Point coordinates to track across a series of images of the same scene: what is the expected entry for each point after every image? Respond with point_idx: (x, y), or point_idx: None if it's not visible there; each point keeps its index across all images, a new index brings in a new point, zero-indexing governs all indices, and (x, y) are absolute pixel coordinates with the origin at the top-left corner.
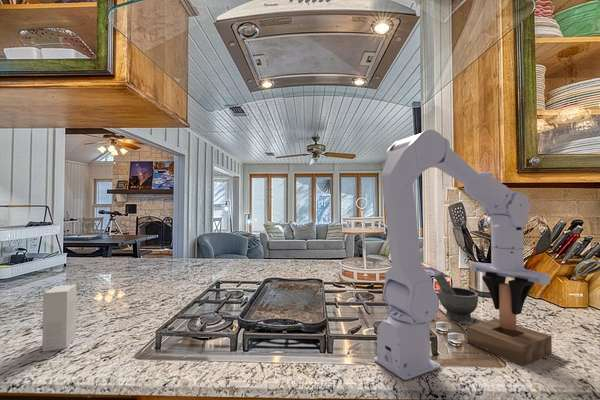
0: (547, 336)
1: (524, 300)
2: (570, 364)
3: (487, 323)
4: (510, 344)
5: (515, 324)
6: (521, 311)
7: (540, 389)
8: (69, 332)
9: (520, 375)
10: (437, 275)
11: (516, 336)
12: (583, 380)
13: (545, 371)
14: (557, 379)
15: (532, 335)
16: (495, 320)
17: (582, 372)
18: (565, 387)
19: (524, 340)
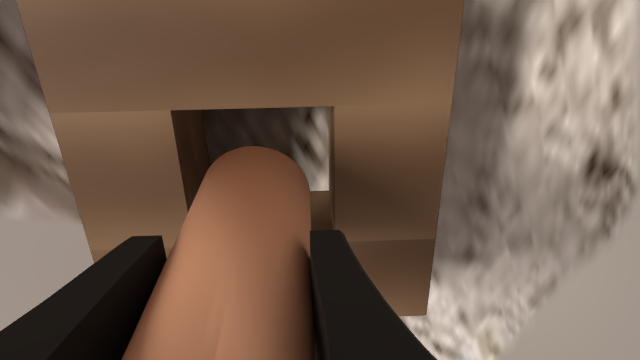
0: (452, 20)
1: (390, 313)
2: (536, 36)
3: (101, 172)
4: None
5: (310, 213)
6: (347, 243)
7: (504, 346)
8: None
9: (431, 323)
10: None
11: (337, 217)
12: (601, 161)
13: (477, 220)
14: (526, 242)
15: (381, 103)
16: (57, 44)
17: (591, 81)
18: (558, 272)
19: (391, 231)
